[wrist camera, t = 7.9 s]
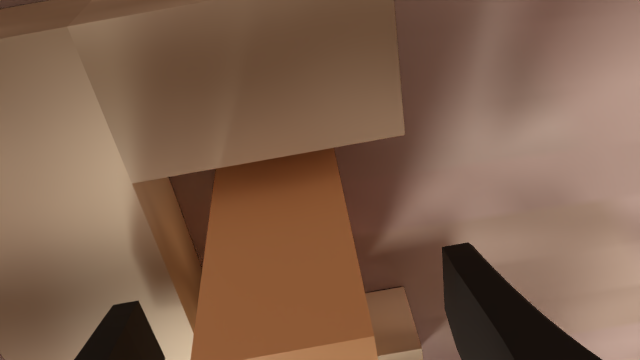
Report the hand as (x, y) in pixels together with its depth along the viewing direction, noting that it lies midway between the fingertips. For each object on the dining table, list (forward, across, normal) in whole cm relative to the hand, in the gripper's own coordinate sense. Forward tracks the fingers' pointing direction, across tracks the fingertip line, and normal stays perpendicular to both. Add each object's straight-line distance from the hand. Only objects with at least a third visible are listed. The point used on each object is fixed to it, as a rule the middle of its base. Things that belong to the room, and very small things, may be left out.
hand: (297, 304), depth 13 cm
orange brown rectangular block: (+3, 0, 0) cm, 4 cm away
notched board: (+3, +2, 0) cm, 4 cm away
